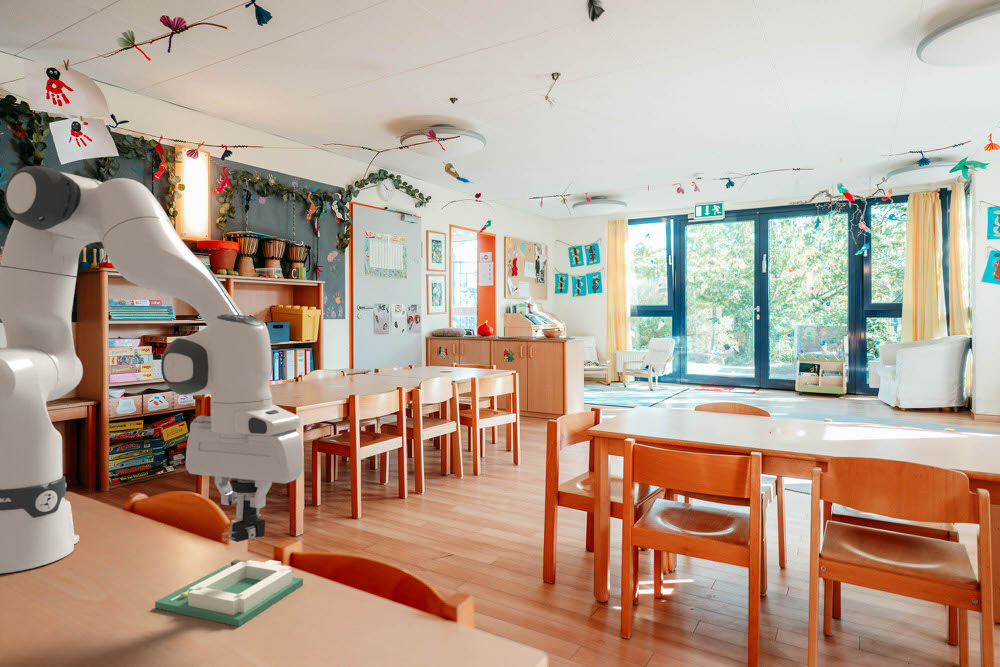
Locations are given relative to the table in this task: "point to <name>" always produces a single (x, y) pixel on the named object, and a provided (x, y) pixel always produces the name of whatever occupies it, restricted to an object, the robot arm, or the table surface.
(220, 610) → the board
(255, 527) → the push button
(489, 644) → the table surface
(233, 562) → the lead
